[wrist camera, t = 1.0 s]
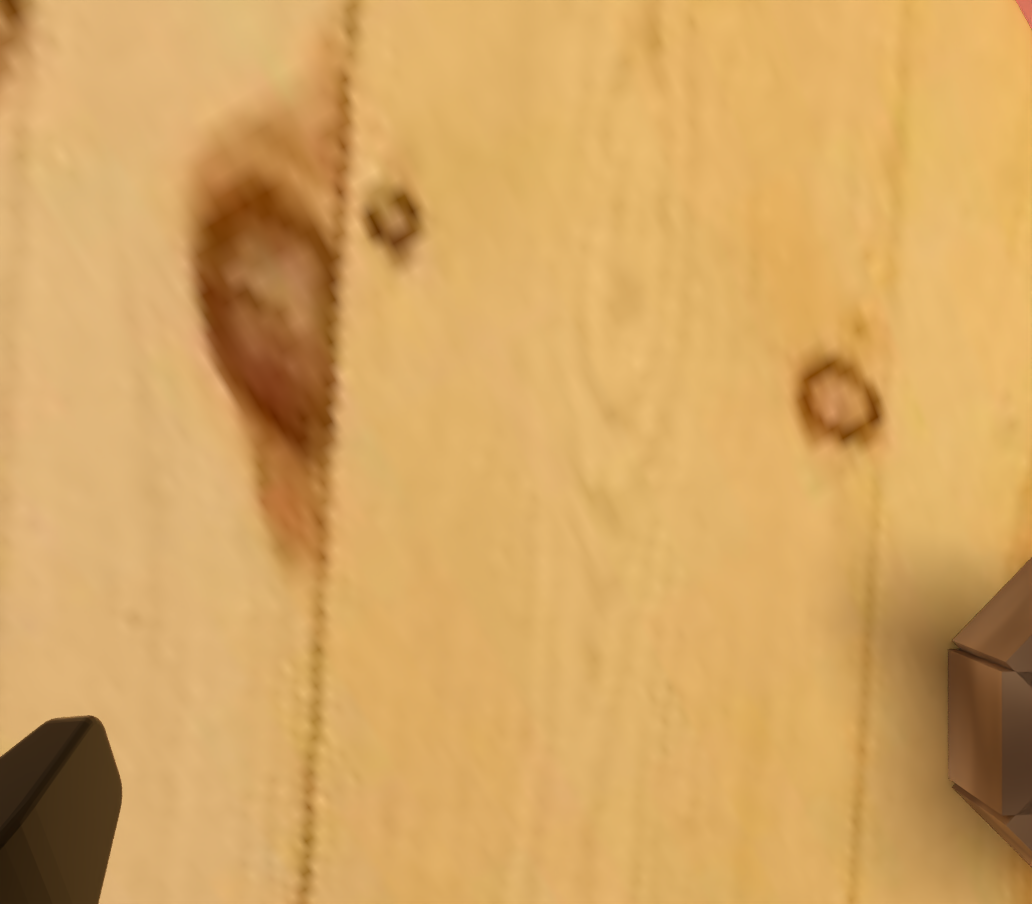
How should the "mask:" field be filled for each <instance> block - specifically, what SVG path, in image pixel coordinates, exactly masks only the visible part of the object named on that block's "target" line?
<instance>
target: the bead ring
mask: <svg viewBox="0 0 1032 904" xmlns="http://www.w3.org/2000/svg"><path fill="white" fill-rule="evenodd" d="M952 641H953V642H954V643H955V644H956V645H957V646H958V647H959V648H960V649H949V650H948V746H949V779H950V780H951V781H953V782H954V783H956V784H955V785H954V786H953V787H952V788H953V789H954V790H955V791H956V792H957V793H958V794H959V795H960V796H961V797H962V798H963V799H964V800H965V801H966V802H967V803H968V804H969V805H970V806H971V807H972V808H973V809H974V810H975V811H976V812H977V813H978V814H979V815H980V816H981V817H982V818H983V819H984V820H985V821H986V822H987V823H988V824H989V825H990V826H991V827H992V828H993V829H994V830H995V831H996V832H997V833H998V834H999V835H1000V836H1001V837H1002V838H1003V839H1004V840H1005V841H1006V842H1007V843H1008V844H1009V845H1010V846H1011V847H1012V848H1013V849H1014V850H1015V851H1016V852H1017V853H1018V854H1019V855H1020V856H1021V857H1022V858H1023V859H1024V860H1025V861H1026V862H1027V863H1028V864H1029V865H1030V866H1031V867H1032V558H1031V559H1030V560H1029V561H1028V562H1027V563H1026V564H1025V565H1024V566H1023V567H1022V568H1021V569H1020V570H1019V571H1018V572H1017V573H1016V574H1015V575H1014V576H1013V578H1012V579H1011V580H1010V581H1009V582H1008V583H1007V584H1006V585H1005V586H1004V587H1003V588H1002V589H1001V590H1000V591H999V592H998V593H997V594H996V595H995V596H994V597H993V598H992V599H991V600H990V601H989V602H988V603H987V605H986V606H985V607H984V608H983V609H982V610H981V611H980V612H979V613H978V614H977V615H976V616H975V617H974V618H973V619H972V620H971V621H970V622H969V623H968V624H967V625H966V626H965V627H964V628H963V629H962V630H961V632H960V633H959V634H958V635H957V636H956V637H955V638H954V639H953V640H952Z"/></svg>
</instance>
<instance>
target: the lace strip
mask: <svg viewBox="0 0 1032 904" xmlns="http://www.w3.org/2000/svg"><path fill="white" fill-rule="evenodd" d="M1016 1H1017V3H1018V5H1019V7H1020V9H1021V10H1022V12H1023V14H1024V16H1025V18H1026V19H1027V21H1028V23H1029V25H1030V27H1031V28H1032V0H1016Z"/></svg>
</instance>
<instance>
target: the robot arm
mask: <svg viewBox="0 0 1032 904" xmlns="http://www.w3.org/2000/svg"><path fill="white" fill-rule="evenodd" d="M121 803H122V784H121V779H120V775H119V772H118V769H117V766H116V762H115V759H114V756H113V753H112V750H111V747H110V744H109V741H108V737H107V734H106V731H105V728H104V726H103V724H102V722H101V721H100V720H99V719H98V718H96V717H94V716H89V715H88V716H75V717H62V718H55V719H51V720H49V721H47V722H45V723H44V724H42V725H41V726H39V727H38V728H37V729H36V730H34V731H33V732H32V733H30V734H29V735H28V736H27V737H25V738H24V739H23V740H21V741H20V742H19V743H18V744H16V745H15V746H14V747H12V748H11V749H10V750H9V751H7V752H6V753H5V754H4V755H2V756H1V757H0V904H98V903H99V899H100V894H101V890H102V886H103V882H104V877H105V873H106V869H107V865H108V860H109V856H110V852H111V847H112V843H113V839H114V835H115V830H116V826H117V822H118V817H119V813H120V809H121Z"/></svg>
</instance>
